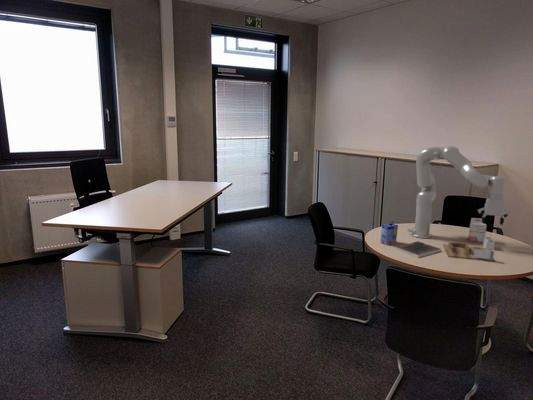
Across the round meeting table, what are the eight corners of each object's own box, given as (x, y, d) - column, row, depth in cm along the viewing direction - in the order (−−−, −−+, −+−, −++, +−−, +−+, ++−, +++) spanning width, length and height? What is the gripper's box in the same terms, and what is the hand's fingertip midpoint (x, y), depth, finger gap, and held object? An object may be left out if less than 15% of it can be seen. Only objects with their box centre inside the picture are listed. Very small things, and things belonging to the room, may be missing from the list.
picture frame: (417, 244, 251) (394, 250, 240) (418, 241, 251) (395, 246, 240) (440, 252, 238) (417, 258, 226) (441, 248, 237) (418, 254, 226)
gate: (474, 258, 223) (475, 250, 222) (473, 257, 225) (474, 249, 224) (492, 260, 221) (493, 251, 220) (491, 259, 223) (493, 250, 222)
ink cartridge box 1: (386, 245, 248) (388, 223, 245) (379, 242, 252) (381, 221, 249) (396, 242, 253) (398, 221, 250) (390, 240, 257) (391, 219, 254)
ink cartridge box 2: (471, 241, 257) (473, 219, 254) (468, 239, 262) (470, 217, 259) (484, 241, 256) (487, 220, 253) (481, 239, 261) (484, 218, 258)
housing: (448, 256, 228) (448, 249, 227) (442, 245, 248) (443, 238, 247) (494, 261, 221) (495, 253, 220) (484, 249, 242) (485, 242, 241)
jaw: (485, 249, 242) (486, 240, 241) (483, 245, 249) (484, 237, 248) (493, 249, 241) (495, 240, 240) (490, 246, 248) (492, 237, 246)
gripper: (481, 197, 237) (478, 224, 240) (513, 198, 232) (509, 226, 235) (478, 194, 244) (475, 221, 247) (509, 196, 239) (506, 223, 243)
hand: (492, 223), depth 241 cm, fingers open, 9 cm apart
